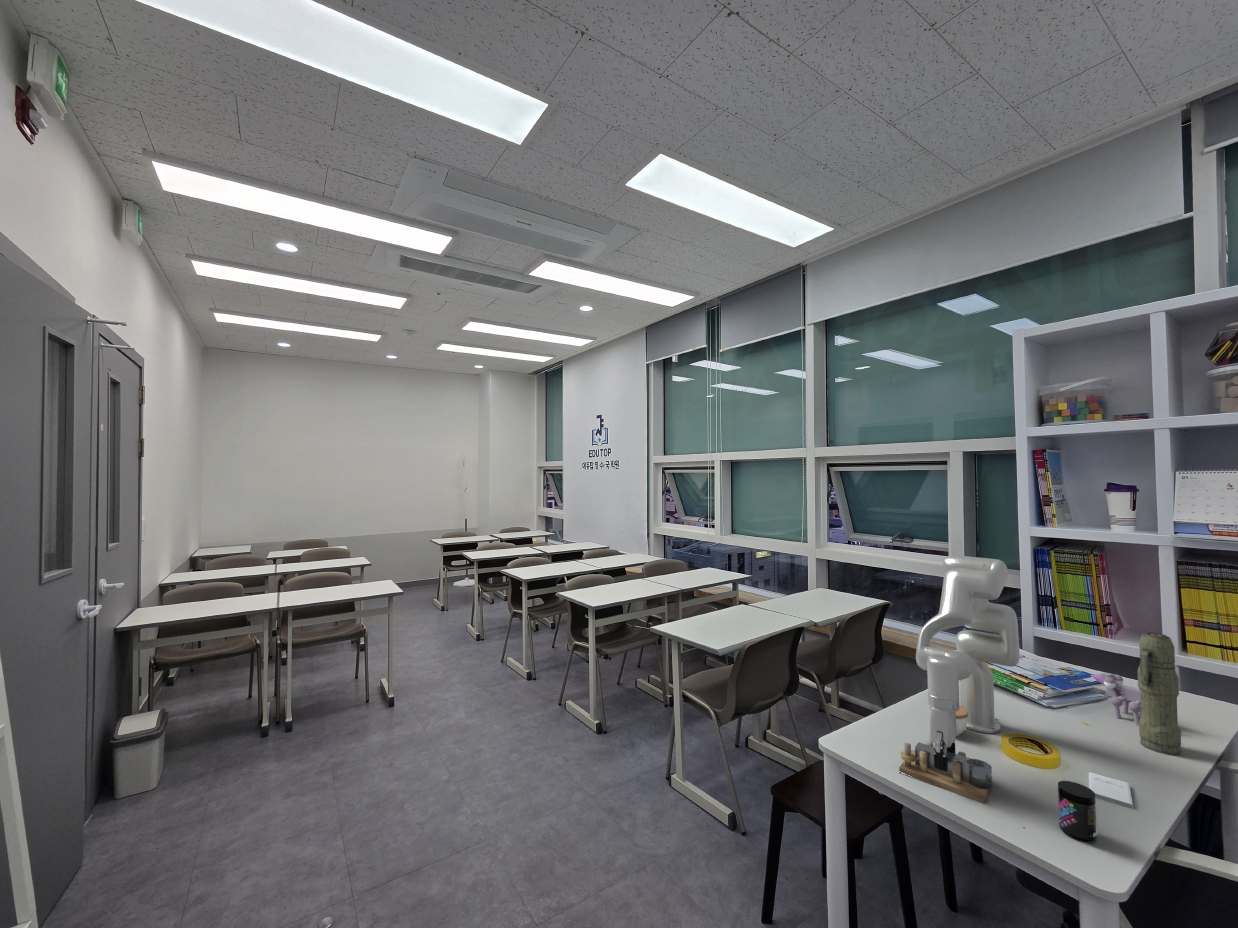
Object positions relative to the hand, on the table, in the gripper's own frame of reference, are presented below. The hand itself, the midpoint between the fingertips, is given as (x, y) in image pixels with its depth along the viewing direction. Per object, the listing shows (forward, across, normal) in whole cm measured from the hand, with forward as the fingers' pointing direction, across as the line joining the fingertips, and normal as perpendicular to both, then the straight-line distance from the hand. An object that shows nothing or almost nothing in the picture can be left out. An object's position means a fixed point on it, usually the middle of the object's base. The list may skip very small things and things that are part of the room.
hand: (945, 761), depth 144 cm
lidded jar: (+5, -31, -5) cm, 31 cm away
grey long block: (+3, 0, +2) cm, 3 cm away
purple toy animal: (+5, -85, +38) cm, 93 cm away
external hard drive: (+5, -22, +34) cm, 41 cm away
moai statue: (+5, -64, +45) cm, 78 cm away
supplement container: (+4, +5, +28) cm, 29 cm away
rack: (+4, 0, 0) cm, 4 cm away
